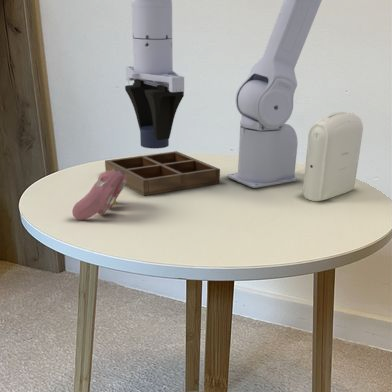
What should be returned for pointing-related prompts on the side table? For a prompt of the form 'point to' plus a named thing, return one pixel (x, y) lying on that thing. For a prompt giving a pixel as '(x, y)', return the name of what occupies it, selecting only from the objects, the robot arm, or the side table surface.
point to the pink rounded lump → (100, 195)
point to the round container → (151, 138)
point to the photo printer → (332, 156)
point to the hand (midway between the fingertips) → (154, 136)
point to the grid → (164, 172)
